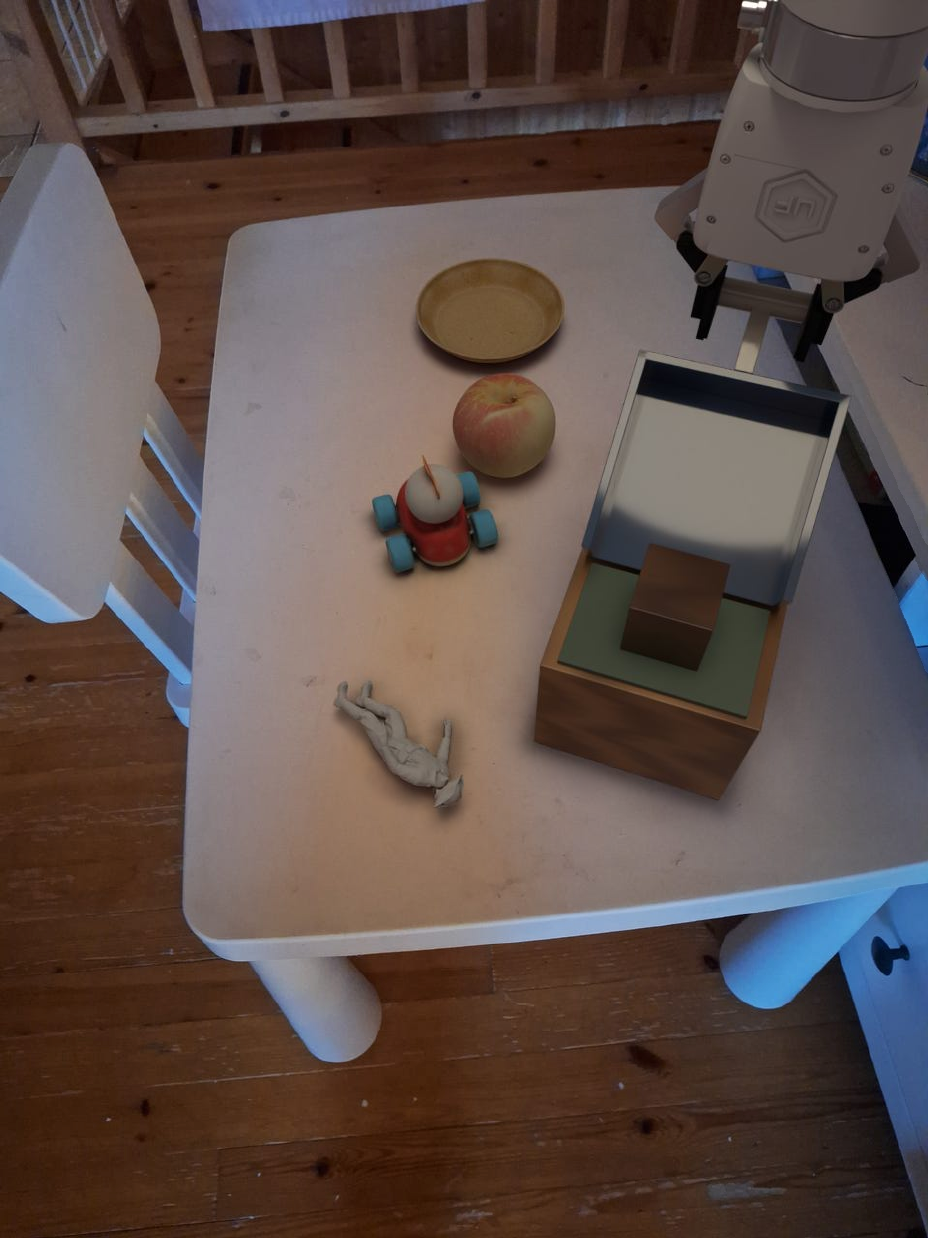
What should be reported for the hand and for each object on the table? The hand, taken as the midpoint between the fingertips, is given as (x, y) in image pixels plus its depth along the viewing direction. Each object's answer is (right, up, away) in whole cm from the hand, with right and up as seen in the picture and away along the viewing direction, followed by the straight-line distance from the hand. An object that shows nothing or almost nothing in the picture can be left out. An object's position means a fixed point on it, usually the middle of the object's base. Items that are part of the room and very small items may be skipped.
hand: (753, 334), depth 58 cm
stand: (-3, -20, +13) cm, 25 cm away
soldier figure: (-23, -29, +9) cm, 38 cm away
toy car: (-21, -11, +20) cm, 31 cm away
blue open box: (-2, -7, +2) cm, 7 cm away
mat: (-6, -20, 0) cm, 20 cm away
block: (-5, -16, -1) cm, 17 cm away
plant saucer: (-16, +11, +33) cm, 39 cm away
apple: (-15, -4, +24) cm, 29 cm away
